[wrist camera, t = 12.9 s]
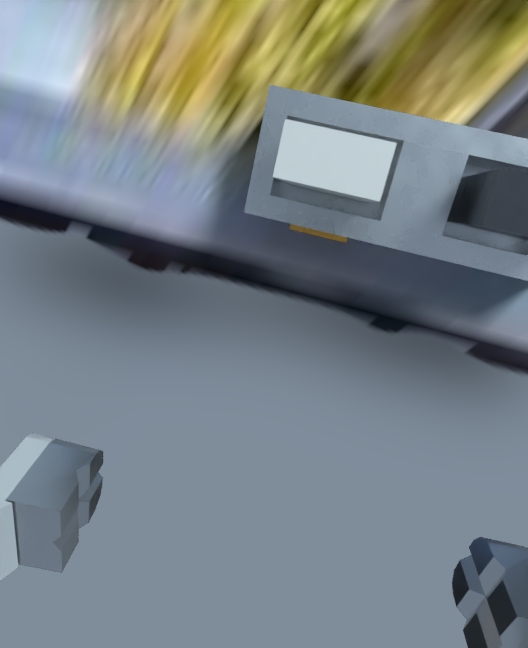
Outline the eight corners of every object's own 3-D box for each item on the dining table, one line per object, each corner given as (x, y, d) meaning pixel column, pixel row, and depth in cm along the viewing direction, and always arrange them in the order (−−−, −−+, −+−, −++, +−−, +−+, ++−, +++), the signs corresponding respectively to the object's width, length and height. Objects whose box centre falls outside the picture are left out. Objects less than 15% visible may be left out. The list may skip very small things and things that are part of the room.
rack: (255, 216, 35) (224, 220, 25) (279, 102, 32) (255, 58, 23) (538, 285, 33) (621, 317, 23) (586, 168, 30) (702, 150, 21)
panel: (289, 185, 33) (272, 176, 24) (299, 142, 32) (285, 119, 23) (368, 203, 32) (379, 201, 23) (380, 160, 31) (397, 142, 23)
